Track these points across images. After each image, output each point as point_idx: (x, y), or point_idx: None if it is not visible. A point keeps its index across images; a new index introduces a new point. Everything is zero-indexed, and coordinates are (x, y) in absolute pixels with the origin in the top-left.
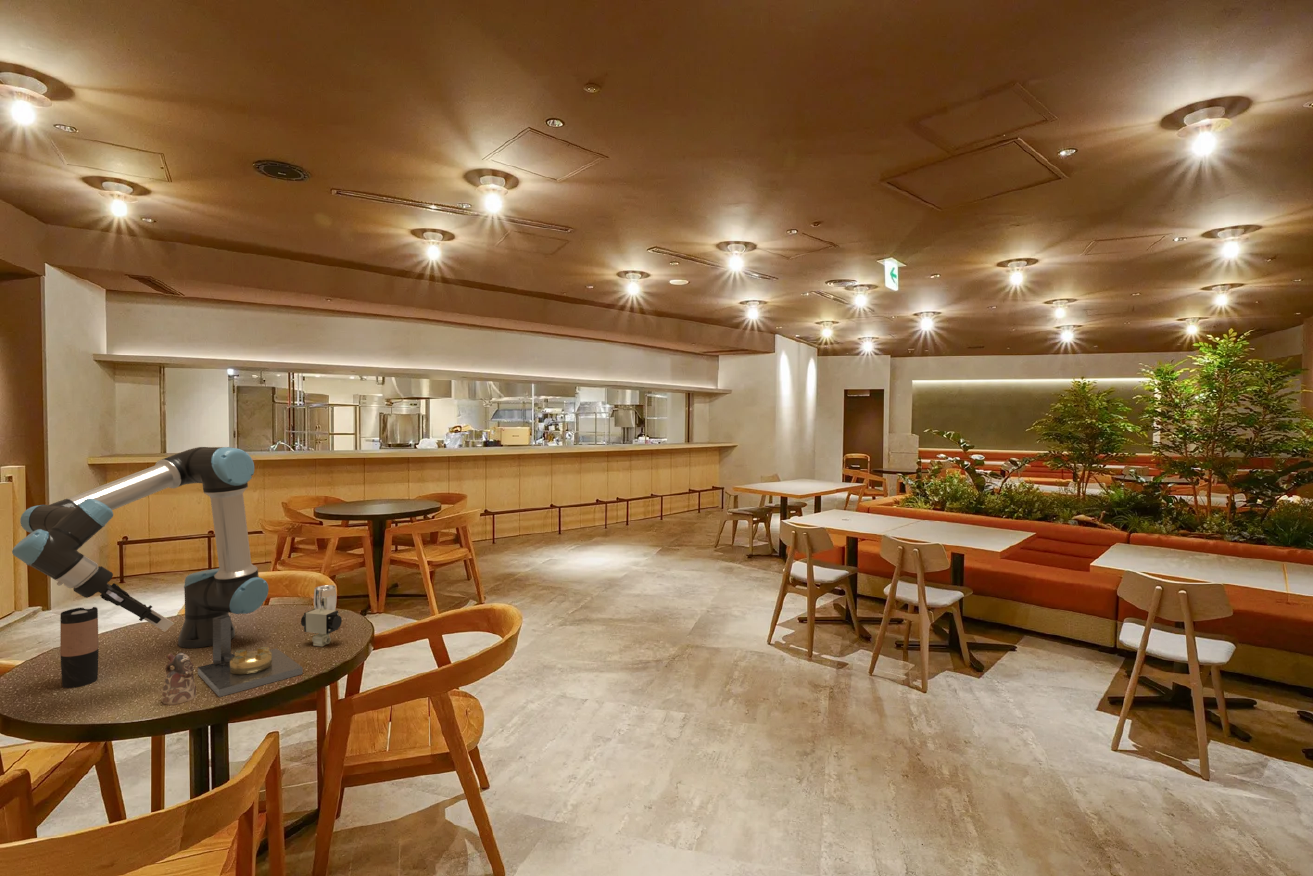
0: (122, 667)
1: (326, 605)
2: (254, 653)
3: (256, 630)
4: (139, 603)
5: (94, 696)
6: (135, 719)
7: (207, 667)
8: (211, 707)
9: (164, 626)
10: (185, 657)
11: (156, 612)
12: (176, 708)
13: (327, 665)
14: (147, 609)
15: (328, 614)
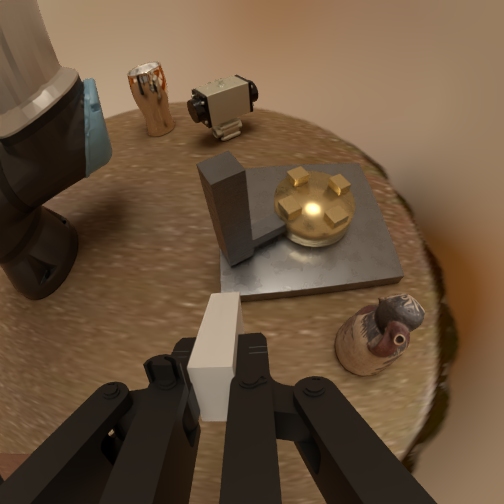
0: (64, 402)
1: (165, 89)
2: (296, 191)
3: (70, 196)
4: (265, 467)
5: (210, 485)
6: (419, 411)
7: (241, 280)
8: (435, 296)
9: (242, 330)
10: (415, 300)
11: (212, 344)
12: (411, 349)
13: (335, 145)
14: (346, 399)
15: (249, 81)
